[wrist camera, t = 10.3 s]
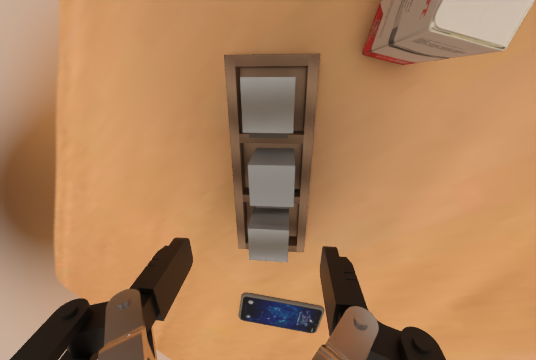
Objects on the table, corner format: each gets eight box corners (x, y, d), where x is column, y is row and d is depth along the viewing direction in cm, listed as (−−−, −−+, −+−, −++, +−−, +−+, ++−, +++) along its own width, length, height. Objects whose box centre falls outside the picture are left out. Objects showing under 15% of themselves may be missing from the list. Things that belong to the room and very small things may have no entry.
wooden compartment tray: (232, 58, 24) (210, 49, 17) (315, 57, 23) (327, 47, 16) (243, 232, 34) (231, 271, 27) (302, 235, 33) (305, 276, 26)
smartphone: (241, 293, 39) (325, 309, 38) (242, 289, 39) (325, 304, 39) (237, 320, 42) (315, 335, 41) (238, 315, 42) (315, 330, 42)
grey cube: (256, 147, 26) (247, 165, 21) (293, 148, 26) (295, 165, 21) (257, 185, 28) (250, 210, 23) (292, 186, 28) (293, 212, 23)
